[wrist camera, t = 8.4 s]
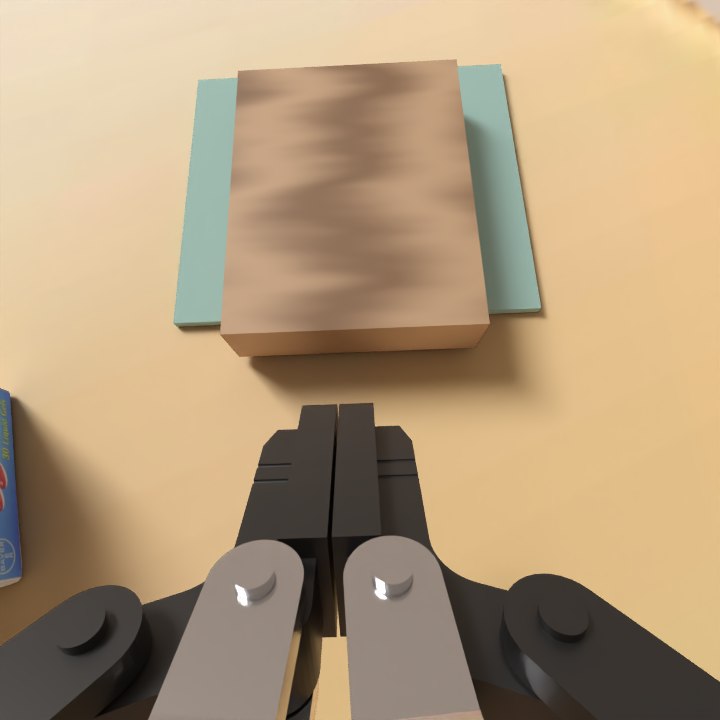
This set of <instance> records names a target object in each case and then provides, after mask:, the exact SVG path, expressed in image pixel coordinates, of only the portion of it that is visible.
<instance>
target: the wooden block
mask: <svg viewBox="0 0 720 720" xmlns="http://www.w3.org/2000/svg"><path fill="white" fill-rule="evenodd" d="M489 324H490V321H489V313H488V305H487V297H486V289H485V281H484V273H483V265H482V258H481V250H480V242H479V234H478V226H477V218H476V210H475V202H474V194H473V186H472V179H471V171H470V163H469V155H468V147H467V139H466V131H465V123H464V115H463V108H462V100H461V92H460V84H459V76H458V68H457V60H438V61H419V62H400V63H381V64H362V65H343V66H324V67H304V68H285V69H266V70H247V71H238V82H237V96H236V111H235V125H234V140H233V154H232V169H231V183H230V198H229V212H228V227H227V241H226V256H225V270H224V285H223V299H222V314H221V328H220V335H221V336H222V337H223V338H224V340H225V341H226V342H227V343H228V344H229V345H230V346H231V348H232V349H233V350H234V351H235V352H236V353H237V354H238V356H239V357H245V356H271V355H296V354H322V353H348V352H373V351H399V350H425V349H450V348H476V346H477V344H478V343H479V341H480V339H481V338H482V336H483V334H484V333H485V331H486V329H487V328H488V326H489Z"/></svg>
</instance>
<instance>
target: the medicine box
mask: <svg viewBox="0 0 720 720" xmlns="http://www.w3.org/2000/svg"><path fill="white" fill-rule="evenodd" d="M21 573H22V556H21V545H20V532H19V520H18V507H17V494H16V481H15V465H14V449H13V432H12V416H11V401H10V393H9V392H8V391H6V390H4V389H1V388H0V588H1V587H4V586H7V585H10V584H13V583H16V582H18V581H19V580H20V579H21V577H22V575H21Z"/></svg>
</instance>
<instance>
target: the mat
mask: <svg viewBox="0 0 720 720" xmlns="http://www.w3.org/2000/svg"><path fill="white" fill-rule="evenodd" d="M457 68H458V76H459V84H460V92H461V100H462V108H463V115H464V123H465V131H466V139H467V147H468V155H469V163H470V171H471V179H472V186H473V194H474V202H475V210H476V218H477V226H478V234H479V242H480V250H481V258H482V265H483V273H484V281H485V289H486V297H487V305H488V313H489V314H499V313H524V312H538V311H539V310H540V309H541V304H540V298H539V292H538V286H537V280H536V274H535V268H534V262H533V256H532V250H531V244H530V238H529V232H528V226H527V220H526V214H525V208H524V202H523V196H522V190H521V184H520V178H519V171H518V165H517V159H516V153H515V147H514V141H513V135H512V129H511V123H510V117H509V111H508V105H507V99H506V93H505V87H504V81H503V75H502V69H501V64H496V65H476V66H457ZM237 82H238V78H228V79H209V80H198V90H197V100H196V109H195V119H194V129H193V138H192V148H191V158H190V168H189V177H188V187H187V197H186V206H185V216H184V226H183V236H182V245H181V255H180V265H179V274H178V284H177V294H176V304H175V313H174V324H175V325H176V326H177V327H181V326H205V325H221V314H222V299H223V285H224V270H225V256H226V241H227V227H228V212H229V198H230V183H231V169H232V154H233V140H234V125H235V111H236V96H237Z"/></svg>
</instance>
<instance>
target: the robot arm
mask: <svg viewBox="0 0 720 720" xmlns="http://www.w3.org/2000/svg"><path fill="white" fill-rule="evenodd" d="M337 610H338V614H339V625H340V636H341V637H342V636H347V651H348V668H349V685H350V702H351V719H352V720H720V682H719V681H718V680H716V679H715V678H714V677H712V676H711V675H709V674H708V673H707V672H705V671H704V670H702V669H701V668H699V667H698V666H697V665H695V664H694V663H692V662H691V661H690V660H688V659H687V658H685V657H684V656H683V655H681V654H680V653H678V652H677V651H675V650H674V649H673V648H671V647H670V646H668V645H667V644H666V643H664V642H663V641H661V640H660V639H658V638H657V637H656V636H654V635H653V634H651V633H650V632H649V631H647V630H646V629H644V628H643V627H641V626H640V625H639V624H637V623H636V622H634V621H633V620H632V619H630V618H629V617H627V616H626V615H625V614H623V613H622V612H620V611H619V610H617V609H616V608H615V607H613V606H612V605H610V604H609V603H608V602H606V601H605V600H603V599H602V598H600V597H599V596H598V595H596V594H595V593H593V592H592V591H591V590H589V589H588V588H586V587H584V586H583V585H581V584H579V583H577V582H575V581H573V580H571V579H568V578H565V577H562V576H558V575H553V574H534V575H530V576H526V577H524V578H522V579H520V580H518V581H517V582H516V583H514V584H513V586H512V587H511V588H510V589H509V591H507V590H503V589H499V588H495V587H492V586H488V585H484V584H480V583H477V582H474V581H471V580H468V579H466V578H464V577H462V576H459V575H458V574H456V573H455V572H453V571H452V570H450V569H449V568H448V567H447V566H445V565H444V564H443V563H442V561H441V560H440V559H439V558H438V557H437V555H436V554H435V552H434V550H433V548H432V546H431V543H430V540H429V535H428V529H427V523H426V518H425V512H424V506H423V501H422V495H421V489H420V484H419V478H418V472H417V467H416V462H415V455H414V450H413V444H412V440H411V439H410V438H409V437H408V436H407V434H406V433H405V432H404V431H403V430H402V428H401V427H400V426H378V427H375V423H374V407H373V403H360V404H340V405H339V419H338V408H337V404H335V405H306V406H302V410H301V415H300V421H299V426H298V429H294V430H278V431H277V432H276V433H275V434H274V435H273V436H272V437H271V438H270V439H269V440H268V442H267V443H266V444H265V445H264V446H263V450H262V453H261V457H260V460H259V464H258V468H257V471H256V474H255V478H254V484H253V485H252V488H251V492H250V495H249V499H248V502H247V506H246V509H245V513H244V516H243V520H242V523H241V527H240V530H239V534H238V537H237V541H236V544H235V547H234V548H233V549H232V550H230V551H229V552H227V553H226V554H225V555H223V556H222V557H221V558H220V559H219V560H218V561H217V562H216V563H215V565H214V566H213V567H212V569H211V570H210V572H209V574H208V576H207V578H206V581H205V582H203V583H202V584H200V585H198V586H196V587H194V588H192V589H190V590H187V591H184V592H182V593H178V594H175V595H172V596H169V597H166V598H163V599H160V600H157V601H154V602H150V603H147V604H144V605H141V602H140V600H139V598H138V597H137V595H136V594H135V593H134V592H132V591H131V590H129V589H127V588H125V587H121V586H114V585H107V586H100V587H96V588H92V589H88V590H86V591H83V592H81V593H79V594H77V595H75V596H73V597H71V598H69V599H67V600H66V601H64V602H63V603H61V604H60V605H58V606H57V607H55V608H54V609H53V610H51V611H50V612H48V613H47V614H45V615H44V616H43V617H41V618H40V619H38V620H37V621H36V622H34V623H33V624H31V625H30V626H28V627H27V628H26V629H24V630H23V631H21V632H20V633H19V634H17V635H16V636H14V637H13V638H11V639H10V640H9V641H7V642H6V643H4V644H3V645H2V646H0V720H315V714H316V706H317V699H318V690H319V682H318V679H319V674H320V664H321V649H322V637H337Z"/></svg>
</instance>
